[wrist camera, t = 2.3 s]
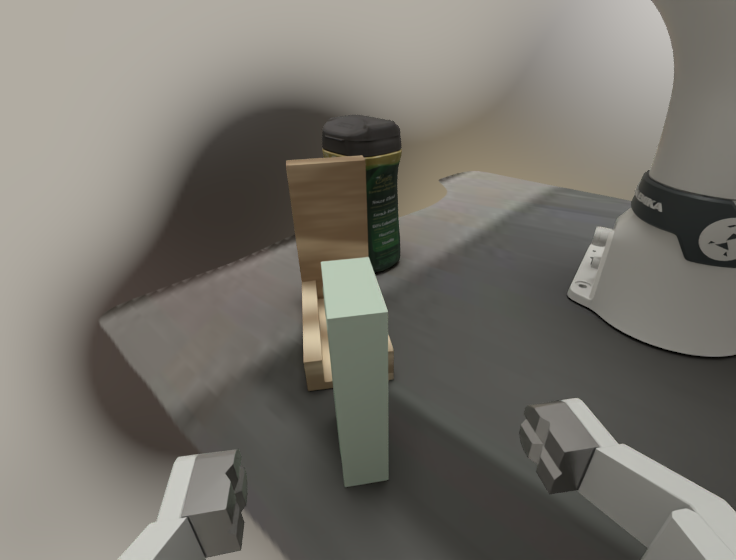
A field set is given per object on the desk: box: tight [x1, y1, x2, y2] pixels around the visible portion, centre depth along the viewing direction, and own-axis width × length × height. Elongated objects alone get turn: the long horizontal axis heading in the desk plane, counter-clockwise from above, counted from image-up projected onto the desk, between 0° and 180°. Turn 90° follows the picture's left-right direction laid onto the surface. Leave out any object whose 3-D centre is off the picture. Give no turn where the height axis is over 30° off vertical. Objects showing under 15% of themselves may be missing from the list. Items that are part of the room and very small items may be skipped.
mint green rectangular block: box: [321, 257, 389, 487], centre depth 25 cm, size 6×3×14 cm, turn 9°
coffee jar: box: [322, 115, 402, 272], centre depth 49 cm, size 10×8×19 cm
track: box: [286, 155, 394, 391], centre depth 36 cm, size 15×8×16 cm, turn 9°
